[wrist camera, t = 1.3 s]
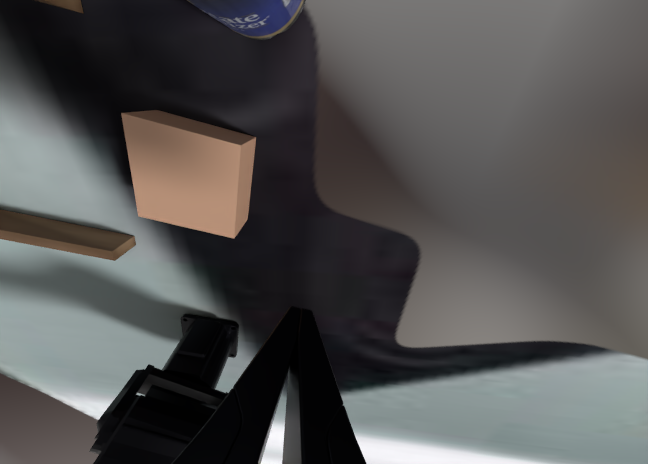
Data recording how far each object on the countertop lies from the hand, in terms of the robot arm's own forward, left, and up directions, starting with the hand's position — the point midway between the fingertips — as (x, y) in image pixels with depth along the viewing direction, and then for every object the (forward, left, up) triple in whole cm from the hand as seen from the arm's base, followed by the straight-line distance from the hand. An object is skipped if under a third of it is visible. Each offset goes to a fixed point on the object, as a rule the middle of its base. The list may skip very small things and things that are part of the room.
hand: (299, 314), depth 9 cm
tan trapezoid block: (0, +9, -12) cm, 15 cm away
